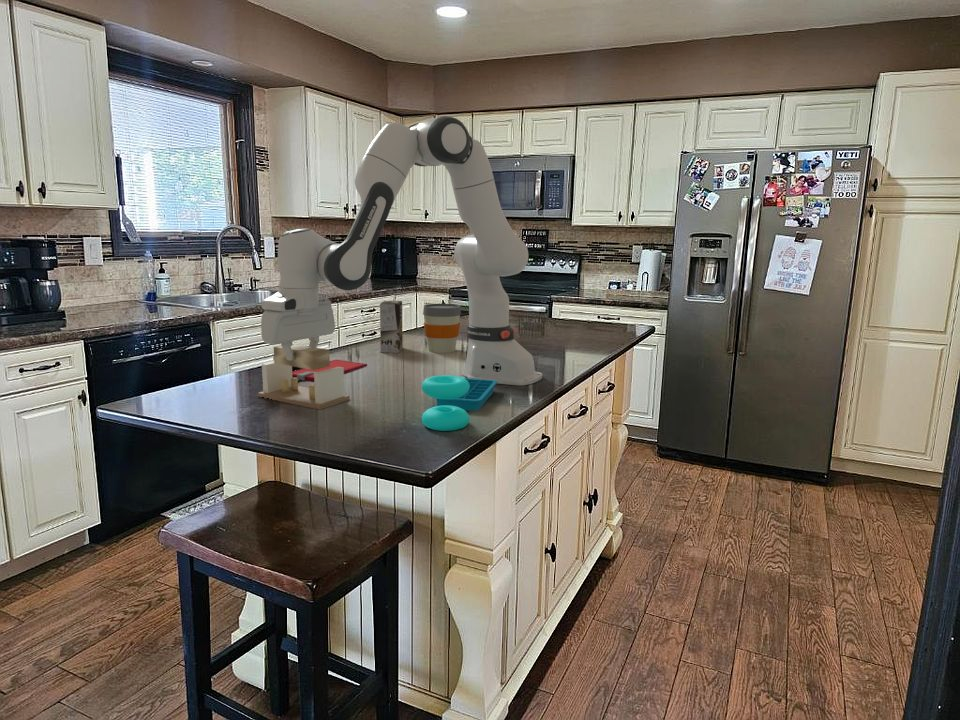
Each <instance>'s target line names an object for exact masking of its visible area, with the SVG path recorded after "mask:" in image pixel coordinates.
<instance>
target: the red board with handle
mask: <svg viewBox="0 0 960 720" xmlns="http://www.w3.org/2000/svg"><path fill="white" fill-rule="evenodd" d="M367 366H368V364H367V363H361V362H353V361H347V360H341V359H334V360H330V366H329V367H325V368H321V369H317V370H311V369H305V368H299V367H293V366H292V378H298V381H300V380H302V381H303V380H304V381H308V380H309V381H310V382H314V373H317V372H320V371H324V370H328V369H332V368H335V367H343V368H344V374H347V373H350V372H353V371H355V370H358V369H362V368H364V367H367ZM295 370H296V371H295ZM260 381H263V378H261V379H260ZM302 381H301V382H302ZM309 381H308V382H309Z"/></svg>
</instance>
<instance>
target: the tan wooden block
mask: <svg viewBox="0 0 960 720" xmlns="http://www.w3.org/2000/svg"><path fill="white" fill-rule="evenodd" d="M291 349H292V351H293V352H296V359H295V360H291V361H289V360H287V359H286V353H285V351H284V349H283V348H282V346H281V344H279V345H276V346H275V345H274V346H273V361H274V363H276V364H282V365H288V366H293V367H299V368H305V369H311V370H317V369H321V368H325V367H329V366H330V361H331V360H330V358H331V357H330V349H326V348H320V347H316V348H315V347H309V345H307V346H306V345H299V344H293V343H292V346H291Z"/></svg>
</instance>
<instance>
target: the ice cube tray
mask: <svg viewBox="0 0 960 720" xmlns="http://www.w3.org/2000/svg"><path fill="white" fill-rule="evenodd" d="M463 378H464V379H466V380H467V381H468V382H469V385H470V388H469V391H468V392H467V393H466V394H465V395H464V396H462V397H459V398H456V399H436V398H433V399H434V400H436V406H442V405H449V406H456V407H459V408H462V409H464V410H465V411H470V412H473V411H474V412H476V411H478V410H480V409H481V408H482V406H483V405H484V404H485V403H486V402H487V400H488V399H489V398H490V397H491V396H492V395H493V393H494V389H495V388H494V387H495V386H496V385H497V384H498V383H497V381H495V380H485V379H470V378H467V377H466V378H465V377H463Z"/></svg>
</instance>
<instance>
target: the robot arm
mask: <svg viewBox="0 0 960 720" xmlns="http://www.w3.org/2000/svg"><path fill="white" fill-rule="evenodd" d="M358 165H359V166H358V168H357V171H356V173H355V178H354V185H355V189H356V191H357V193H358V195H359V197H360V207H359V209H358V212H357V215H356V217H355V218H354V221H353V223H352V225H351V228H350V230H349V232H348V234H347V236H346V238H345V240H344V241H343V242H341V243H337V242H335V241H332V240H330V239H328V238H326V237H324V236H322V235H320V234H319V233H317V232H316V231H314V229H313V228H308V227H305V228H295V229H290V230H287V231H284V232H283V233H282V234H281V235H280V237H279V238H278V244H277V269H278V272H279V277H280V278H279V282H278V291H276V292H275V293H274V294H271V295H270V296H268V297H266V298H264V299H262V301H261V308H262V309H263V313H262V315H261V319H260V320H261V321H260V323H261V325H260V331H261V340H263V342H264V343H265V344H267V345H274V346H275V345H276V346H277V345H281V346H282V348H283V349H284V351H285V353H286V359H287V360H289V361H291V360H295V359H296V352H293V351H292V349H291V346H292V344H293V342H297V341H302V340H307V339H308V341H309V345H308V347H315V348H318V344H319V343H320V337H322V336H327V335H328V336H329V335H333V334H334V333H335V332H334V331H335V329H336V325H335V314H334V310H333V307H332V301H331V299H329V298H328V297H327V296H319V295H320V293H319V284H320V283H321V282H323V283H327V284H328V285H329V284H330V285H332V286H334V287H335V288H337V289H339V290H342V291H353V290H354V291H355V290H356V289H357V290H358V289H359V288H361V287H363V286H364V284H366V282H367V281H368V280H369V277H370V275H371V271H372V264H373V263H372V261H373V254H374V250H375V247H376V245H377V243H378V240H379V238H380V236H381V233H382V231H383V228H384V226H385V224H386V222H387V219H388V217H389V214H390V213H391V212H390V211H391V210H392V207H393V205H394V203H395V200H396V198H397V196H398V194H399V192H400V191H401V190H402V187H403V185H404V183H405V182H406V179H407V177H408V175H409V172H410V171H411V168H413V166H417V167H418V166H419V167H438V166H441V165H442V166H444V167H445V169H446V170H447V172H448V174H449V177H450V182H451V187H452V190H453V195H454V199H455V202H456V206H457V211H458V216H459V218H460V220H462V222H463V223H465V225H467V227H468V228H469V229H470V232H471V233H472V234H469V235H468V234H467V235H466V236H464V237H461V238H460V239H459V240H458V241H457V243H456V245H455V247H454V252H453V255H454V259H455V260H454V261H456V264H457V265H458V266H459V268H460V270H461V272H462V275H463V277H464V281H465V285H466V289H467V294H468V295H467V296H468V324H467V330H466V332H467V334H466V337H467V338H466V339H467V352H466V357H465V358H466V359H465V364H464V368H463V370H462V375H463V376H464V377H466V378H470V379H485V380H495V381H497V383H496V384H498V385H499V384H500V385H508V386H509V385H510V386H511V385H512V386H526V385H528V386H529V385H531V384H534V383H536V382H537V383H538V382H539V381H541V380H542V378H543V373H542V372H539V371H536V369H535V362H534V358H533V357H534V356H533V355H532V354H531V353H530V352H529V351H528V350H526V348H524V347H523V346H522V345H521V344H520V343H519V342H518V341H517V340H515V334H516V333H517V331H518V328H515V329H513V328H512V327H511V325H510V324H509V322H510V321H509V320H510V319H509V317H510V316H509V315H510V298H509V296H508V293H507V292H506V291H505V289H504V287H503V285H502V282H501V279H500V277H510V276H514V275H518V274H520V273H521V272H523V270H524V269H525V268H526V266H527V265H528V261H529V250H528V247H527V245H526V243H525V242H524V241H523V240H522V239H521V238H520V237H519V236H517V234H516V233H515V232H514V230H513V229H512V226H511V225H510V223H509V222H508V220H507V217H506V216H505V214H504V211H503V209H502V206H501V203H500V199H499V195H498V191H497V186H496V183H495V182H496V181H495V177H494V173H493V169H492V166H491V164H490V160H489V158H488V154H487V152H486V150H485V148H484V145H483V144H482V143H481V141H479V140H477V139H475V138H474V139H473V138H472V136H471V135H470V133H469V131H468V129H467V127H466V126H465V123H463V122H462V121H461V120H459V119H458V118H456V117H452V116H447V115H446V116H445V115H444V116H440V117H431V118H427V119H424V120H423V121H421V122H417V123H413V124H412V125H410V126H409V127H408V126H407V125H405V124H403V123H400V122H388V123H386V124H384V126H383V127H382V128H381V129H380V130H379V131H378V133H377V134H376V135H375V137H374V139H373V140H372V141H371V143H370V144H369V146H368V148H367V150H366V151H365V153H364V154H363V157H362V159H361V161H360V163H359V164H358Z"/></svg>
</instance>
